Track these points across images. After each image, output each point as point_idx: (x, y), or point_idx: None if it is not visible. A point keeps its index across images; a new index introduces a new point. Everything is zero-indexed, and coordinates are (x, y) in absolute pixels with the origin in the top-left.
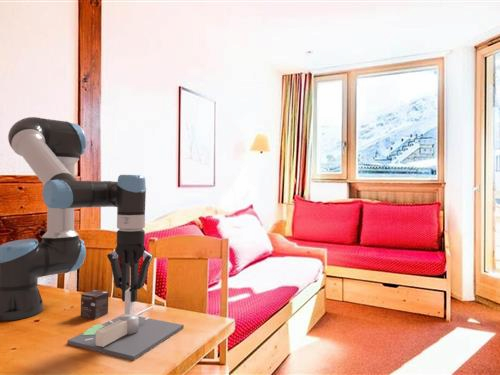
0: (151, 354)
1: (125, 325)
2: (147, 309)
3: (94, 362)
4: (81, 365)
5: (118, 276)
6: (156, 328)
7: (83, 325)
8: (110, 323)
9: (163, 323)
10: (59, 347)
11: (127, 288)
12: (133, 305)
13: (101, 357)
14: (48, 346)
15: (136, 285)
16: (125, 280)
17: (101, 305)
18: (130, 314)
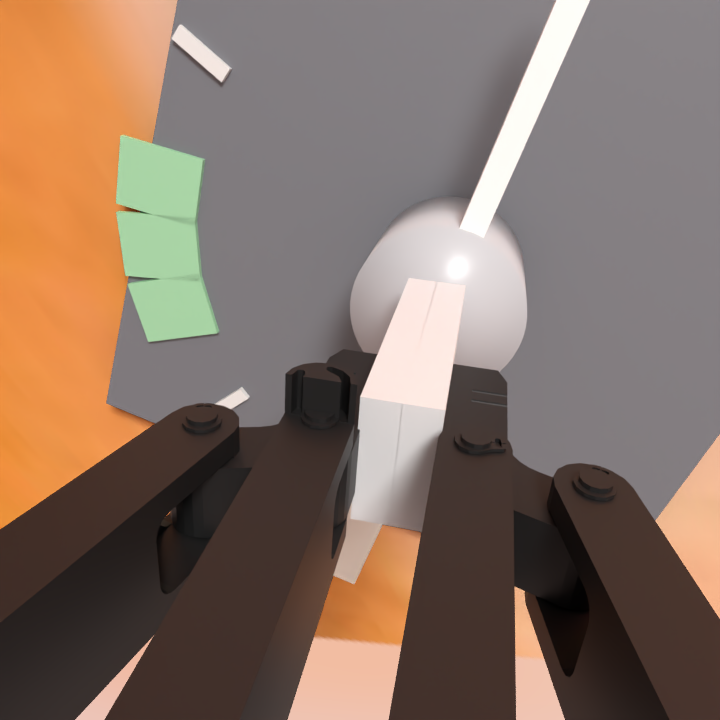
0: (686, 528)
1: None
2: (573, 35)
3: (382, 585)
4: (335, 604)
5: (138, 626)
6: (682, 173)
7: (4, 74)
8: (215, 88)
9: None
10: (108, 430)
11: (353, 469)
12: (459, 324)
13: (394, 543)
14: (44, 418)
15: (517, 582)
16: (312, 637)
17: None
18: (425, 248)
